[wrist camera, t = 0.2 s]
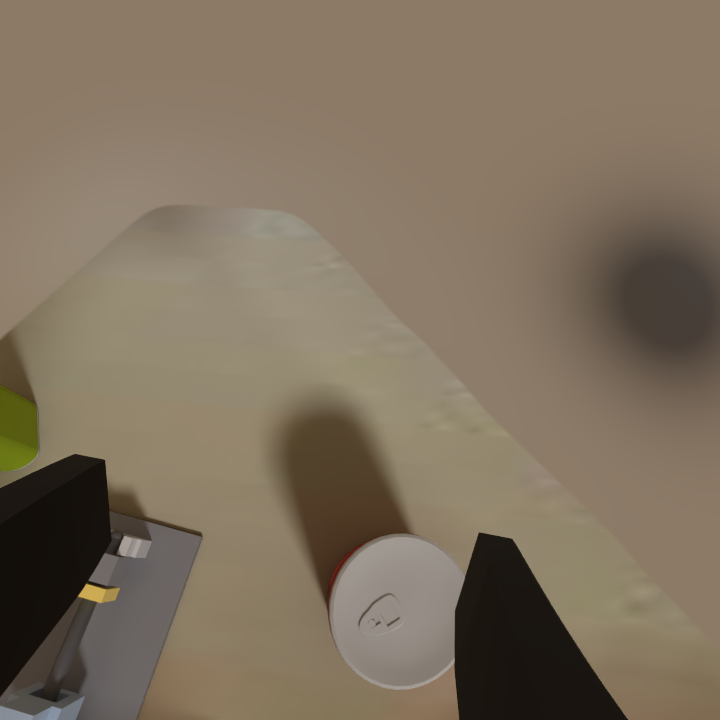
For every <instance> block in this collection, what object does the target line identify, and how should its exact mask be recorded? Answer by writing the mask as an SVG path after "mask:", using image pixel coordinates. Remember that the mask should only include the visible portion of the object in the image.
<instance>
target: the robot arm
mask: <svg viewBox="0 0 720 720" xmlns="http://www.w3.org/2000/svg"><path fill="white" fill-rule="evenodd" d="M111 541H112V538H111V526H110V514H109V502H108V490H107V478H106V466H105V460H103V459H98V458H93V457H88V456H82V455H77V454H74V455H71V456H69V457H67V458H64V459H62V460H60V461H57V462H55V463H53V464H51V465H48V466H46V467H44V468H42V469H40V470H38V471H36V472H33V473H31V474H29V475H27V476H25V477H23V478H21V479H19V480H17V481H14V482H12V483H10V484H8V485H6V486H4V487H2V488H0V697H1V696H2V694H3V693H4V692H5V691H6V689H7V688H8V687H9V685H10V684H11V683H12V682H13V680H14V679H15V678H16V676H17V675H18V674H19V673H20V671H21V670H22V669H23V667H24V666H25V665H26V663H27V662H28V661H29V660H30V658H31V657H32V656H33V654H34V653H35V652H36V651H37V649H38V648H39V647H40V645H41V644H42V643H43V642H44V640H45V639H46V638H47V636H48V635H49V634H50V632H51V631H52V630H53V629H54V627H55V626H56V625H57V623H58V622H59V621H60V619H61V618H62V617H63V615H64V614H65V613H66V612H67V610H68V609H69V608H70V606H71V605H72V604H73V602H74V601H75V600H76V598H77V597H78V596H79V594H80V593H81V592H82V590H83V588H84V587H85V585H86V584H87V582H88V580H89V579H90V577H91V576H92V574H93V572H94V571H95V569H96V567H97V566H98V564H99V562H100V560H101V559H102V557H103V555H104V554H105V552H106V550H107V548H108V547H109V545H110V543H111ZM454 650H455V679H456V690H457V700H458V710H459V720H628V719H627V718H626V716H625V715H624V713H623V712H622V711H621V709H620V708H619V706H618V705H617V704H616V702H615V701H614V699H613V698H612V696H611V695H610V694H609V692H608V691H607V689H606V688H605V687H604V685H603V684H602V682H601V681H600V679H599V678H598V676H597V675H596V673H595V672H594V670H593V669H592V667H591V666H590V664H589V663H588V662H587V660H586V658H585V657H584V655H583V654H582V652H581V651H580V649H579V648H578V646H577V644H576V643H575V641H574V640H573V638H572V637H571V635H570V634H569V632H568V631H567V629H566V627H565V626H564V624H563V623H562V621H561V620H560V618H559V616H558V615H557V613H556V611H555V610H554V608H553V607H552V605H551V603H550V602H549V600H548V598H547V597H546V595H545V593H544V592H543V590H542V588H541V587H540V585H539V583H538V581H537V580H536V578H535V576H534V575H533V573H532V571H531V569H530V568H529V566H528V564H527V563H526V561H525V559H524V557H523V556H522V554H521V552H520V551H519V549H518V547H517V545H516V544H515V542H514V541H513V539H510V538H505V537H500V536H495V535H490V534H484V533H479V534H478V537H477V540H476V544H475V547H474V550H473V553H472V557H471V560H470V563H469V566H468V570H467V573H466V576H465V579H464V583H463V586H462V589H461V592H460V596H459V599H458V602H457V605H456V609H455V640H454Z"/></svg>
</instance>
